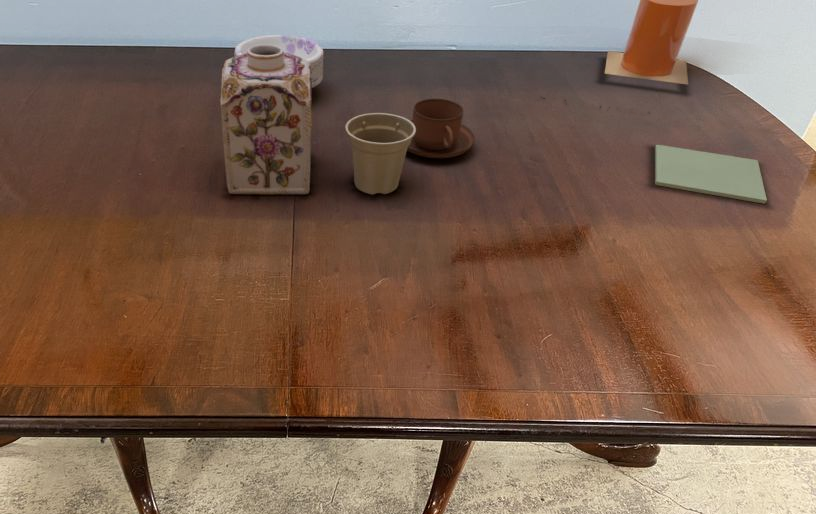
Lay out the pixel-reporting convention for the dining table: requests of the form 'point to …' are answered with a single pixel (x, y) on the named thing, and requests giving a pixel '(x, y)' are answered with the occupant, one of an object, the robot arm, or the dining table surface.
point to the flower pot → (378, 150)
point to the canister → (657, 36)
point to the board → (616, 69)
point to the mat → (709, 173)
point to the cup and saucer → (439, 130)
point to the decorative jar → (267, 121)
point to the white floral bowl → (291, 51)
